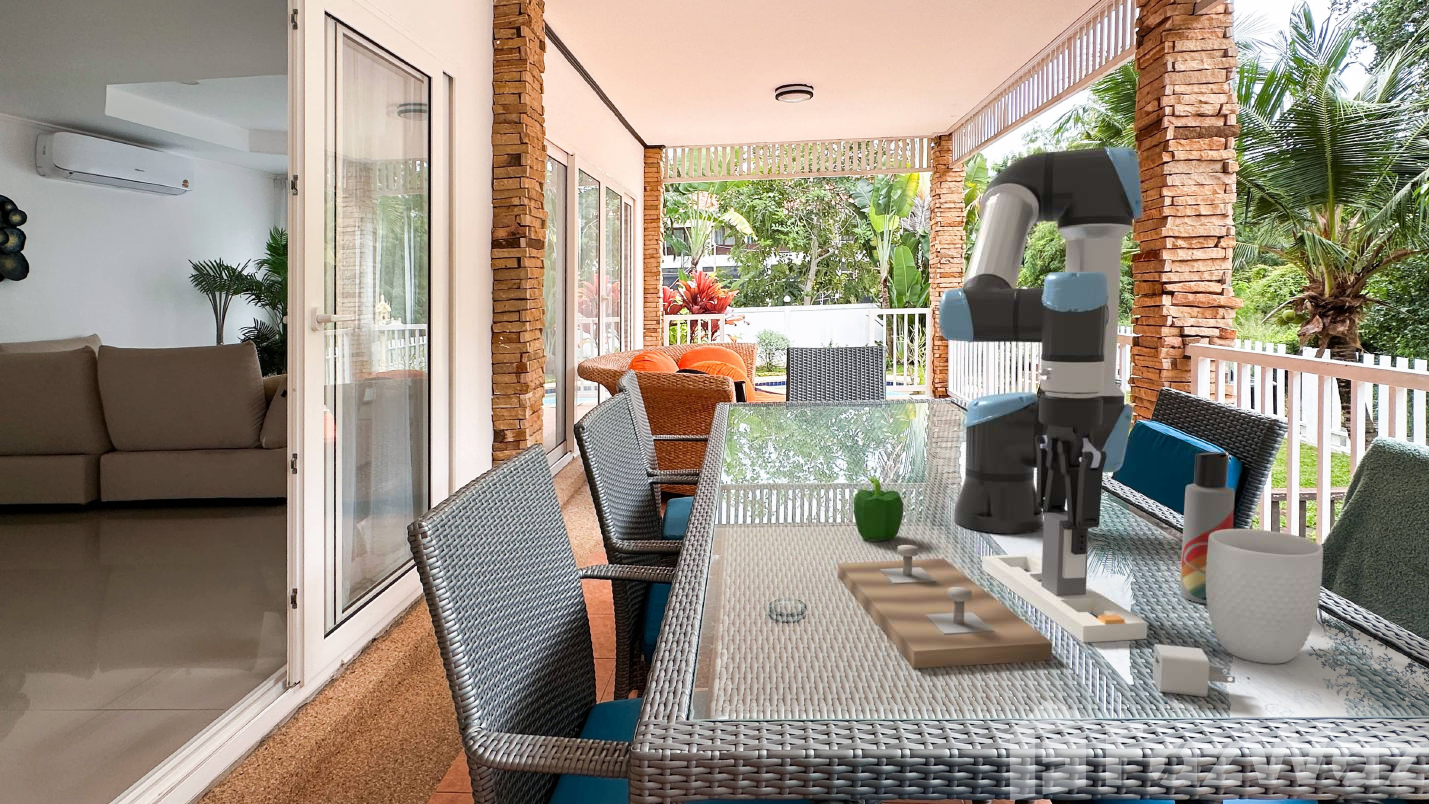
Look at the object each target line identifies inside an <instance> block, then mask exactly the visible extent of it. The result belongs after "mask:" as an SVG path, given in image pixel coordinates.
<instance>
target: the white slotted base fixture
mask: <svg viewBox="0 0 1429 804" xmlns="http://www.w3.org/2000/svg"><path fill="white" fill-rule="evenodd" d="M1067 524H1068V515H1067V512H1054V513H1044V515H1043V527H1042V528H1043V530H1042V531H1043V532H1042V533H1043V534H1042V554H1041V555H1042V558H1041V556H1038V555H1037V554H1035V553H1017V554H999V555H998V554H997V555H995V554H994V555H982V561H981V563H982V564H981V569H982V571H984V572H986V573H987V574H988V575H989V576H991V577H993V578H994V579H995V580H997V581H998V582H999V583H1000V584H1002V585H1004V586H1005V588H1008V589H1009V590H1010V591H1011V592H1012V593H1015V594H1016V595H1017V596H1018V597H1020V598H1021V599H1022V600H1024V601H1026V603H1028V604H1029V605H1031V606H1032V607H1034V608H1035V609H1036V610H1038V611H1039V612H1040V613H1042V614H1043V615H1044V616H1045V617H1047V618H1049V620H1051V621H1052V622H1054V623H1055V624H1057V625H1058V626H1060V627H1061V628H1062V629H1064V630H1065V631H1066V632H1068V633H1069V634H1070V635H1072V636H1073V637H1075V638H1076V639H1077V640H1079V641H1080V642H1081V643H1084V644H1085V643H1097V642H1099V643H1100V642H1113V641H1114V642H1115V641H1116V642H1117V641H1130V640H1132V641H1133V640H1144V639H1145V640H1147V639H1148V638H1147V637H1148V636H1147V634H1148V622H1147V621H1146V620H1144V619H1142V618H1141V617H1139V616H1137V615H1136V614H1134V613H1133V612H1131V611H1129V610H1127V609H1125V608H1124V607H1122V606H1121V605H1120V604H1117V603H1116V602H1115V601H1112V600H1111V599H1109V598H1108V597H1106V596H1104V595H1103V594H1101V593H1100V592H1097V591H1096V590H1094V589H1093V588H1092V587H1089V586H1088V585H1087V573H1088V572H1087V571H1088V551H1089V550H1088V548H1089V530H1090V529H1088V531H1087V546H1086V547H1087V550H1086V564H1085V577H1084V578H1063V577H1062V566H1063V540H1064V528H1063V525H1067ZM1094 615H1095V616H1096V617H1095V616H1094Z"/></svg>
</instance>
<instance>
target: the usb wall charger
mask: <svg viewBox="0 0 1429 804" xmlns="http://www.w3.org/2000/svg"><path fill="white" fill-rule="evenodd" d="M1153 648H1154V650H1153V666H1152V679H1153V681H1154V684H1155V686H1156V689H1157V690H1158V692H1159V693H1169V694H1178V695H1185V696H1192V697H1193V696H1195V697H1202V698H1207V697H1208V693H1209V691H1208V690H1209V682H1216V683H1218V682H1219V683H1225V684H1227V683H1231V684H1235V682H1236V679H1235V678H1236V676H1234V675H1230V668H1229V667H1224V666H1223V667H1222V666H1217V665H1210V661H1209V659H1208V656H1207V655H1206V653H1205V652H1204V650H1203V648H1198V647H1189V646H1188V647H1187V646H1179V645H1178V646H1176V645H1171V644H1170V645H1168V644H1160V643H1159V644H1157V643H1155V644H1154V647H1153ZM1223 670H1226V672H1224V671H1223ZM1229 678H1231V679H1232V680H1229Z"/></svg>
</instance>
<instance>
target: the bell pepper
mask: <svg viewBox="0 0 1429 804" xmlns="http://www.w3.org/2000/svg"><path fill="white" fill-rule="evenodd" d="M869 481H870V482H871V484H873V486H874V489H871V490H868V489H865V488H864V489H863V488H862V489H859V490H858V492H856V494H855V497H854V498H853V516H854V521H855V525H856V527H857V531H858V533H859V535H860V537H861V538H862V539H864V540H866V541H873V542H878V541H884V540H885V541H886V540H894V539H895V538H896V536H897V535H898V534H899V531H900V528H901V524H902V521H903V518H904V517H903V516H904V502H903V500H902V497H901V495H900V493H899V491H898V490H888V491H884V490H883V489H882V488H881V487H882V486H881V482H880V480H879V479H878V478H877V477H871V478H870V479H869Z"/></svg>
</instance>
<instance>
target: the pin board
mask: <svg viewBox="0 0 1429 804" xmlns="http://www.w3.org/2000/svg"><path fill="white" fill-rule="evenodd" d="M896 551H897V552H896V553H897V554H898V555H899V556H901V557H902V558H903V559H901V560H882V561H881V560H880V561H864V562H863V561H861V562H839V563H837V577H838V578H839V580H840V581H841V582H842V584H844V586H845V587H846V588H847V590H848V591H849V592H850V593H851V594H852V596H853V597H854V598H855V599H856V601H858V603H859V604H860V605H861V606H862V608H863V609H864V610H865V611H866V613H867V614H868V613H869V614H868V615H869V617H871V618H873V619H874V620H875V621H874V620H873V619H872V620H873V621H874V622H875V624H876V625H877V624H878V625H879V626H880V627H879V626H878V625H877V626H878V627H879V629H880V630H881V629H882V630H883V631H884V632H885V633H884V632H883V631H882V630H881V631H882V632H883V633H884V634H885V636H886V635H887V636H888V637H889V638H890V639H889V638H888V637H887V636H886V637H887V638H888V639H889V640H890V642H891V641H892V642H893V643H894V644H895V645H896V646H895V645H894V644H893V643H892V642H891V643H892V644H893V645H894V646H895V648H896V647H897V648H898V649H897V648H896V649H897V650H898V651H899V653H900V652H901V653H900V654H901V655H902V656H903V658H904V659H905V658H906V659H905V660H906V661H907V662H908V663H909V665H910V666H911V667H912V668H913V669H928V668H929V669H930V668H940V667H941V668H942V667H945V668H946V667H960V666H961V667H962V666H975V665H976V666H977V665H978V666H979V665H992V664H1005V663H1006V664H1007V663H1008V664H1010V663H1022V662H1023V663H1024V662H1025V663H1026V662H1037V661H1040V662H1041V661H1052V659H1053V657H1052V655H1053V642H1052V641H1051V640H1049V639H1048V638H1046V636H1044V635H1043V634H1041V633H1040V632H1039V631H1038V630H1036V629H1035V628H1034V627H1033V626H1031V625H1030V624H1029V623H1027V622H1026V621H1025V620H1023V619H1022V618H1021V617H1020V616H1018V615H1017V614H1016V613H1014V612H1013V611H1012V610H1011V609H1009V608H1008V607H1007V606H1005V605H1004V603H1002V602H1000V601H999V600H998V599H997V598H995V597H994V596H993V595H991V594H990V593H989V592H987V591H986V590H985V589H983V588H982V587H981V586H980V585H978V584H977V583H976V582H975V581H974V580H972V579H971V578H970V577H968V576H967V575H966V574H964V573H963V572H962V571H961V570H959V569H958V568H957V567H955V566H954V565H953V564H952V563H950V562H949V561H948V560H946V559H945V558H925V559H924V558H923V559H913V557H916V556H918V555H919V547H918V546H916V545H912V544H901V545H898V546H897V550H896Z"/></svg>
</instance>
